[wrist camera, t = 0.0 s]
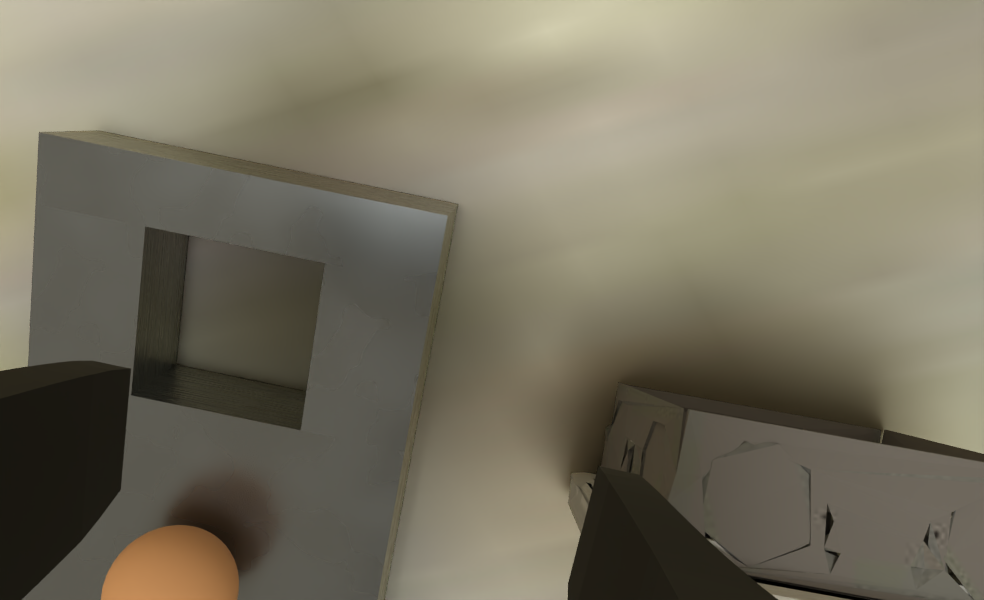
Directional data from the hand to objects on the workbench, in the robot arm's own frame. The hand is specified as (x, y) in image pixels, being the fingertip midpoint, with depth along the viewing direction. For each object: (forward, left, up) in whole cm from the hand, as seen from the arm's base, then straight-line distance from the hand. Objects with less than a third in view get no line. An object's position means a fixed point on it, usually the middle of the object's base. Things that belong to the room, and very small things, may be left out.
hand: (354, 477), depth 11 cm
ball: (-7, +5, -6) cm, 11 cm away
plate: (-6, +5, -10) cm, 13 cm away
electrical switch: (-2, -9, -10) cm, 14 cm away
